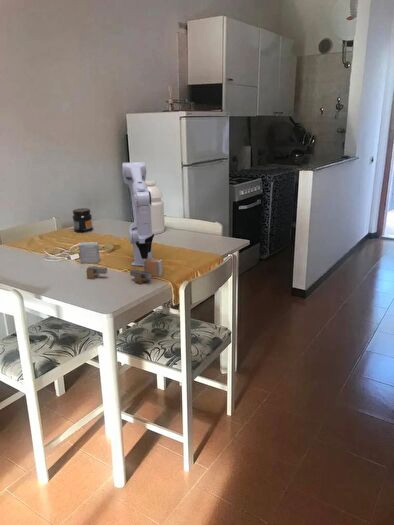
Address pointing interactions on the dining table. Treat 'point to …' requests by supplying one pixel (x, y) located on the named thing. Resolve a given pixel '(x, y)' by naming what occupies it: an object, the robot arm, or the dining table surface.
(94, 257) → the medicine box
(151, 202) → the robot arm
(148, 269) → the block
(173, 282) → the dining table surface
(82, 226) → the supplement container
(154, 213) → the bottle
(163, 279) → the dining table surface
